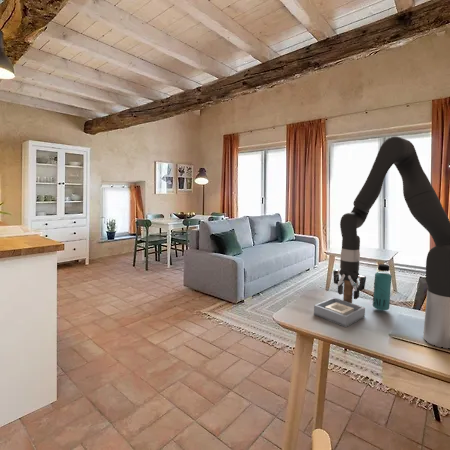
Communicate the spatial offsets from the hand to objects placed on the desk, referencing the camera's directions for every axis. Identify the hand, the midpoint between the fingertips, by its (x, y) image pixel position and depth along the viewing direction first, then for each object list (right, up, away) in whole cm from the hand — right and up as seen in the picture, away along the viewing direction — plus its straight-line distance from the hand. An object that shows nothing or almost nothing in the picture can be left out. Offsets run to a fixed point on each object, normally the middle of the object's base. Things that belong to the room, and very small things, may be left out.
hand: (347, 296), depth 128 cm
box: (-7, -6, -9) cm, 13 cm away
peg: (0, -5, +1) cm, 5 cm away
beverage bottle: (+12, -5, -4) cm, 14 cm away
